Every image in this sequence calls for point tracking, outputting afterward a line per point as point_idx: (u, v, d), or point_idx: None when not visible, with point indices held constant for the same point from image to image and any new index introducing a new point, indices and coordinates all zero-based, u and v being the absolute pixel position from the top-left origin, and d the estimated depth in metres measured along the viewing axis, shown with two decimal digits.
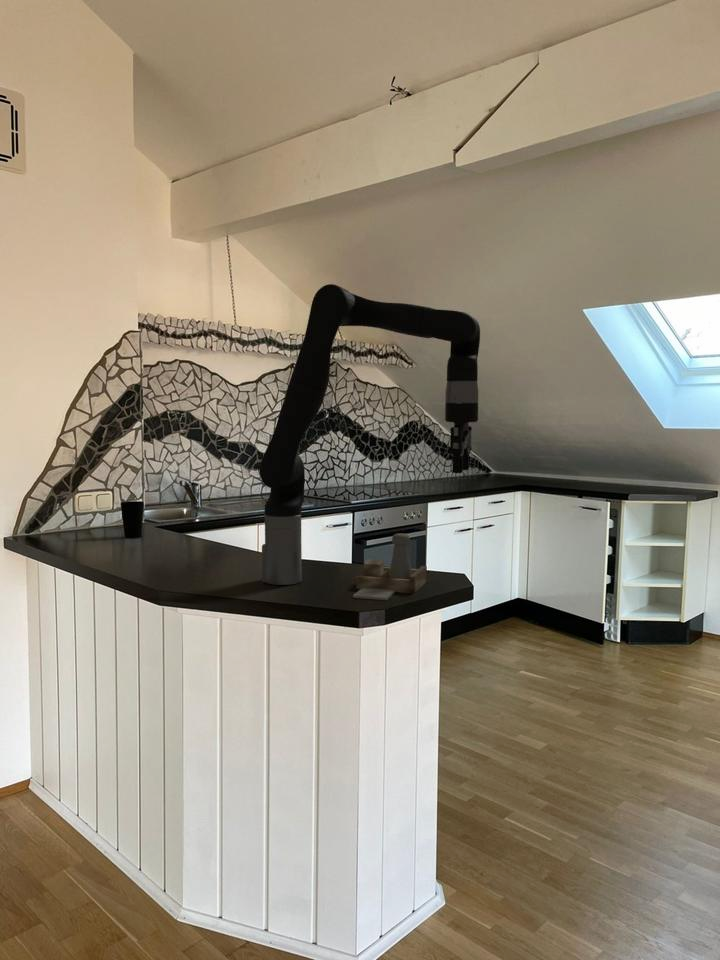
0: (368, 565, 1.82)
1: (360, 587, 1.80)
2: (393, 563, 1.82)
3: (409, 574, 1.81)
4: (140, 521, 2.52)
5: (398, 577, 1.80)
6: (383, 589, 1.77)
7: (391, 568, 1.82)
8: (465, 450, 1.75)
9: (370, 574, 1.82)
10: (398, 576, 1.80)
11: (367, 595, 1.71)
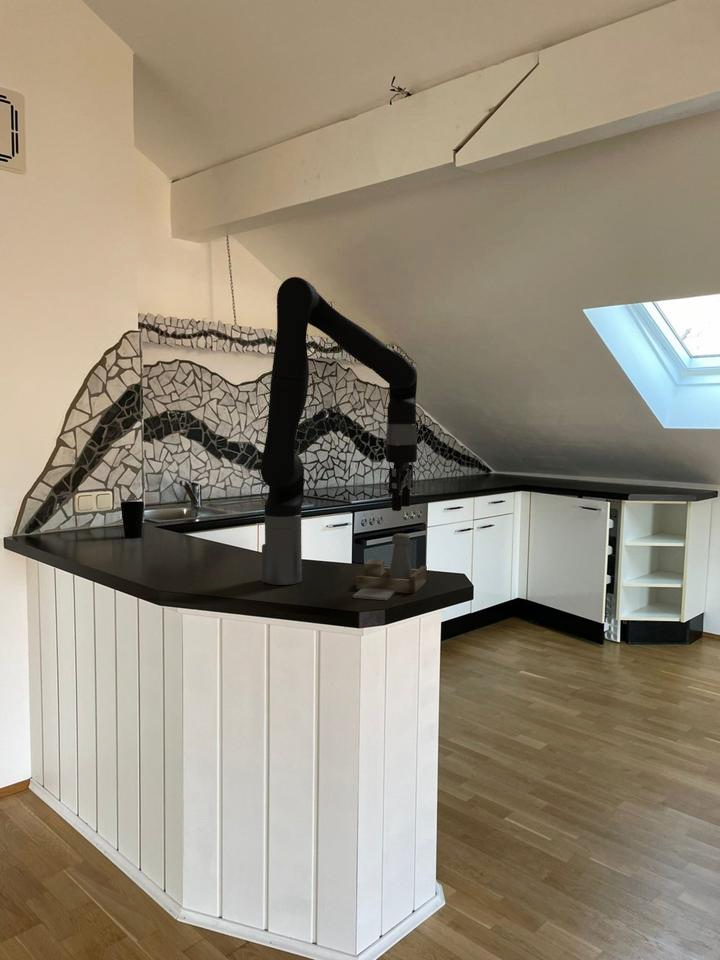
0: (368, 565, 1.82)
1: (360, 587, 1.80)
2: (393, 563, 1.82)
3: (409, 574, 1.81)
4: (140, 521, 2.52)
5: (398, 577, 1.80)
6: (383, 589, 1.77)
7: (391, 568, 1.82)
8: (406, 487, 1.85)
9: (370, 574, 1.83)
10: (398, 576, 1.80)
11: (367, 595, 1.71)
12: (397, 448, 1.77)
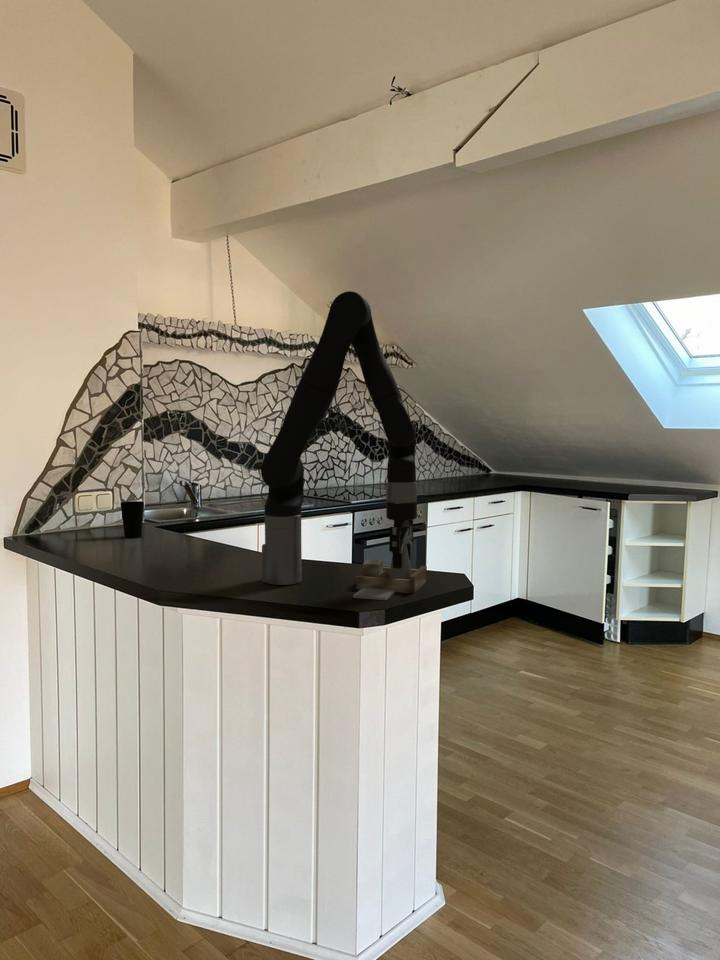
0: (367, 565, 1.82)
1: (360, 587, 1.80)
2: None
3: (409, 574, 1.81)
4: (140, 521, 2.52)
5: (398, 577, 1.80)
6: (383, 589, 1.77)
7: (391, 568, 1.82)
8: None
9: (369, 574, 1.82)
10: (398, 576, 1.80)
11: (367, 595, 1.71)
12: (397, 506, 1.78)
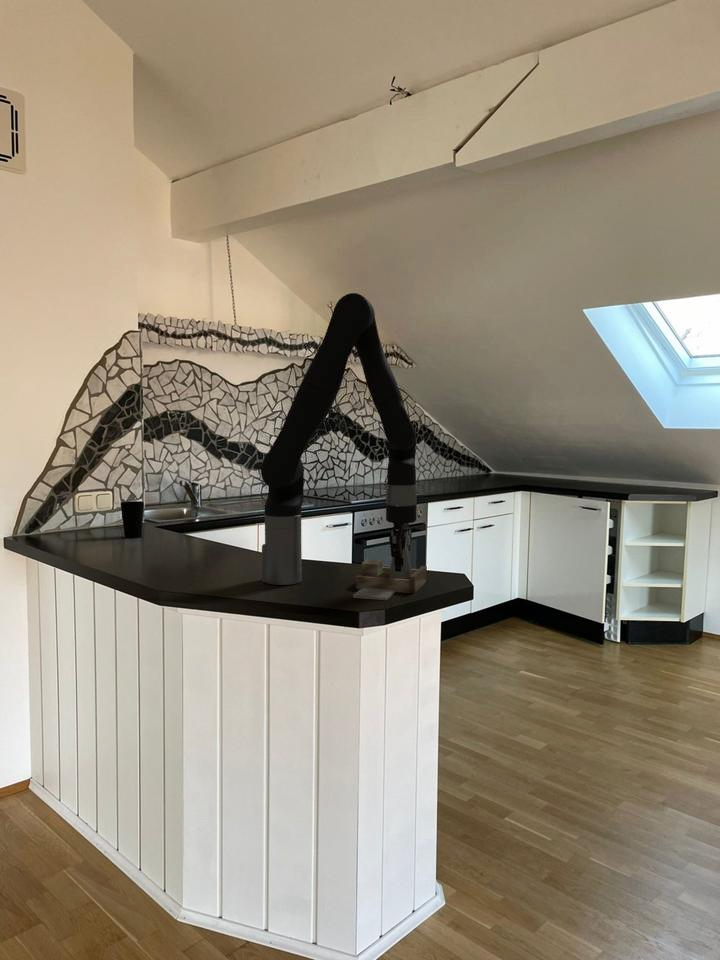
0: (365, 565, 1.83)
1: (360, 587, 1.80)
2: (393, 563, 1.82)
3: (409, 574, 1.81)
4: (140, 521, 2.52)
5: (398, 577, 1.80)
6: (383, 589, 1.77)
7: (391, 568, 1.82)
8: None
9: (367, 574, 1.83)
10: (398, 576, 1.80)
11: (367, 595, 1.71)
12: (397, 509, 1.78)
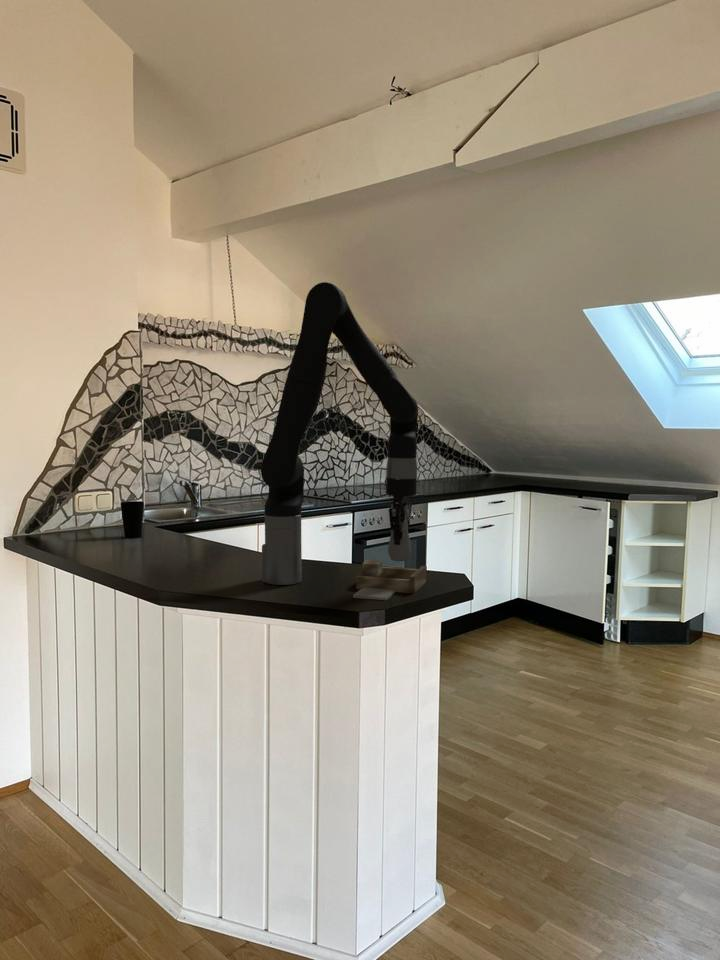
0: (366, 565, 1.82)
1: (360, 587, 1.80)
2: (392, 537, 1.81)
3: (408, 548, 1.81)
4: (140, 521, 2.52)
5: (397, 551, 1.80)
6: (383, 589, 1.77)
7: (390, 542, 1.82)
8: None
9: (368, 574, 1.82)
10: (397, 550, 1.80)
11: (367, 595, 1.71)
12: (397, 482, 1.78)
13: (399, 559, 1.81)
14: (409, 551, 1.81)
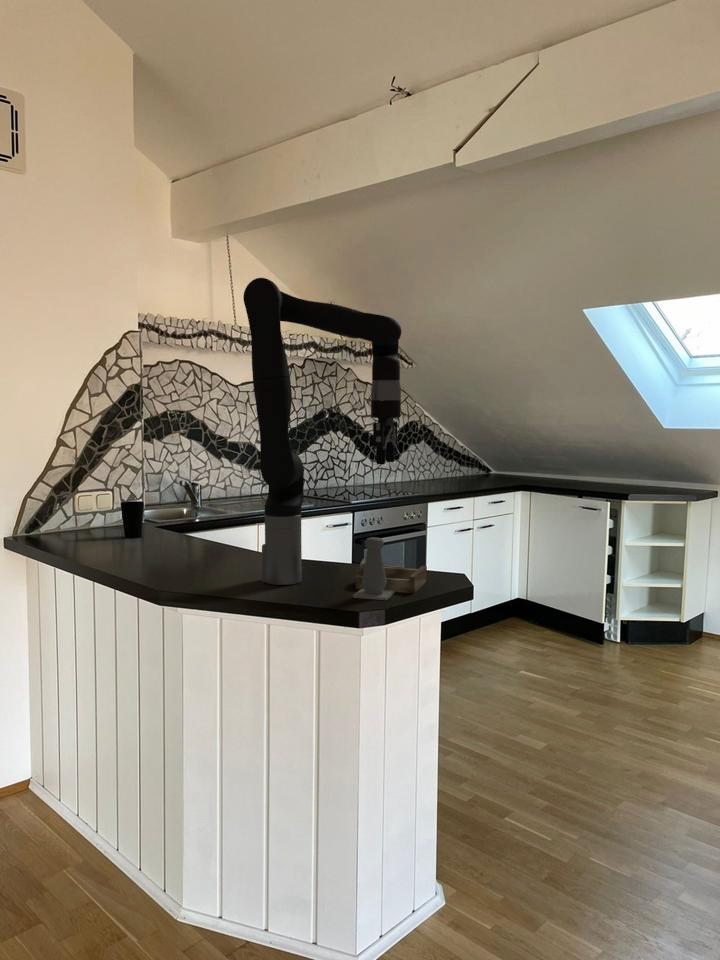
0: (364, 565, 1.82)
1: (360, 587, 1.80)
2: (366, 569, 1.72)
3: (383, 580, 1.72)
4: (140, 521, 2.52)
5: (371, 583, 1.71)
6: None
7: (364, 574, 1.73)
8: (391, 444, 1.91)
9: None
10: (371, 583, 1.71)
11: (367, 595, 1.71)
12: (381, 403, 1.82)
13: (374, 592, 1.72)
14: (384, 583, 1.72)
